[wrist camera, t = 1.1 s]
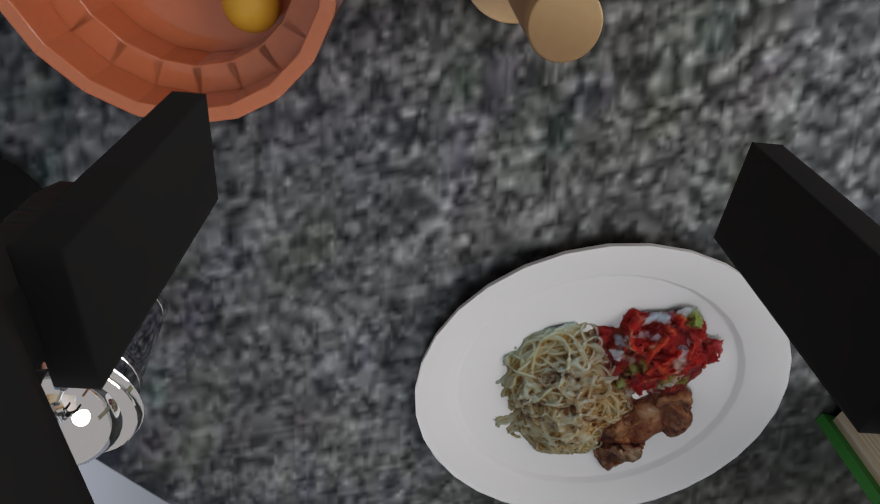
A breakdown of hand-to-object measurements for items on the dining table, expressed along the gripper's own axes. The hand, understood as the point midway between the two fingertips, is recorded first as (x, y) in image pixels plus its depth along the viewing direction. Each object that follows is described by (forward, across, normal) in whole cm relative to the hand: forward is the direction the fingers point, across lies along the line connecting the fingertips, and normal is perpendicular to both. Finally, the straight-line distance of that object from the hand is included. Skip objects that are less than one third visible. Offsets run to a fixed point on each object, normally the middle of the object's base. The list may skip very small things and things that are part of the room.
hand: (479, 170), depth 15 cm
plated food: (+23, +15, -29) cm, 40 cm away
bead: (+21, -11, -1) cm, 23 cm away
